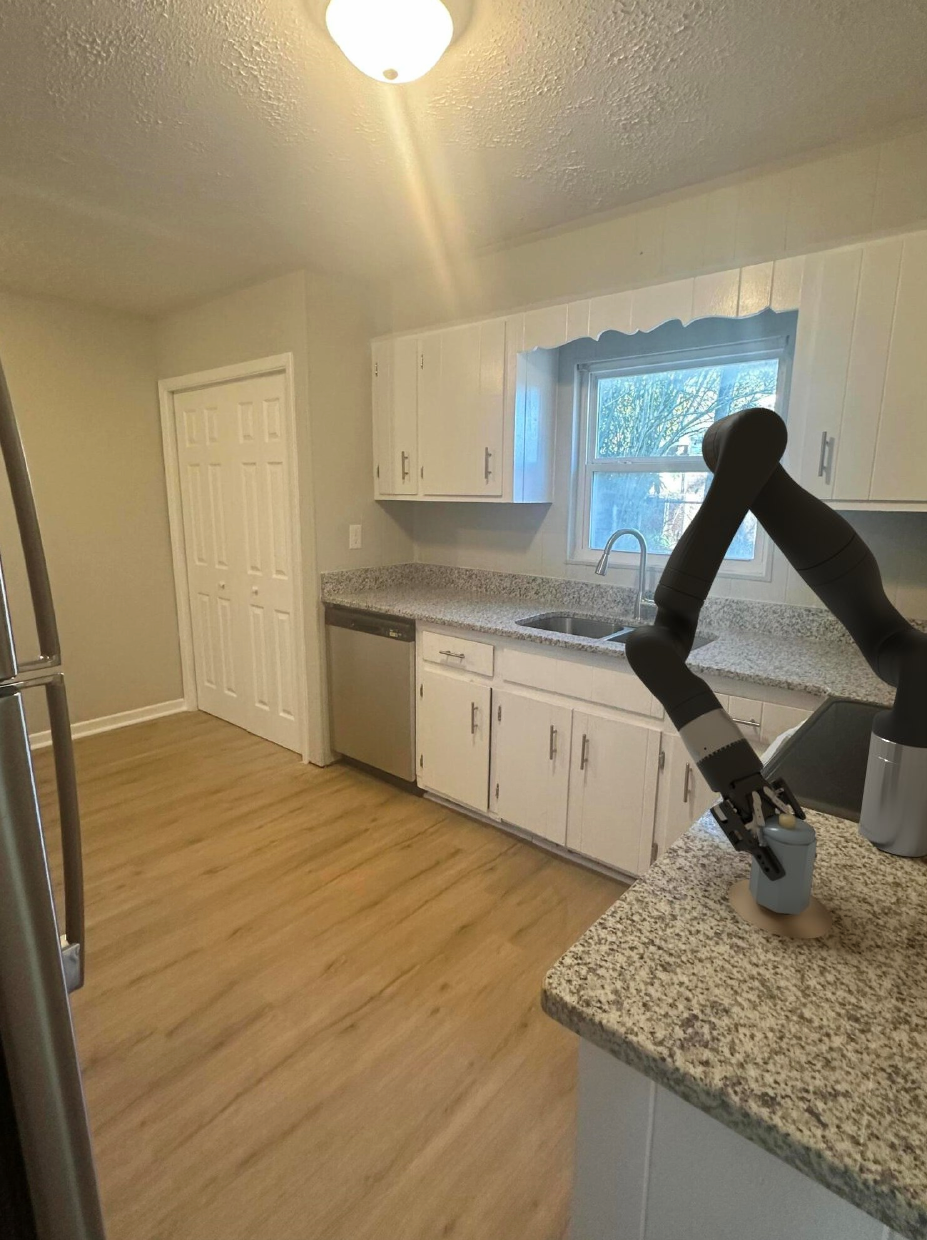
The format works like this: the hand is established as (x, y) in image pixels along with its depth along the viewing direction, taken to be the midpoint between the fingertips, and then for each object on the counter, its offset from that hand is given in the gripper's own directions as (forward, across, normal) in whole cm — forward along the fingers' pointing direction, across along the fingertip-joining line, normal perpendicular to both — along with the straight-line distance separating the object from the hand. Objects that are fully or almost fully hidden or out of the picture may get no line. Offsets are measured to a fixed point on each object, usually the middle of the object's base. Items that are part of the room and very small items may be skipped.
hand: (795, 869), depth 78 cm
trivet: (+4, 0, +6) cm, 7 cm away
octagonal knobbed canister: (+2, 0, +5) cm, 5 cm away
